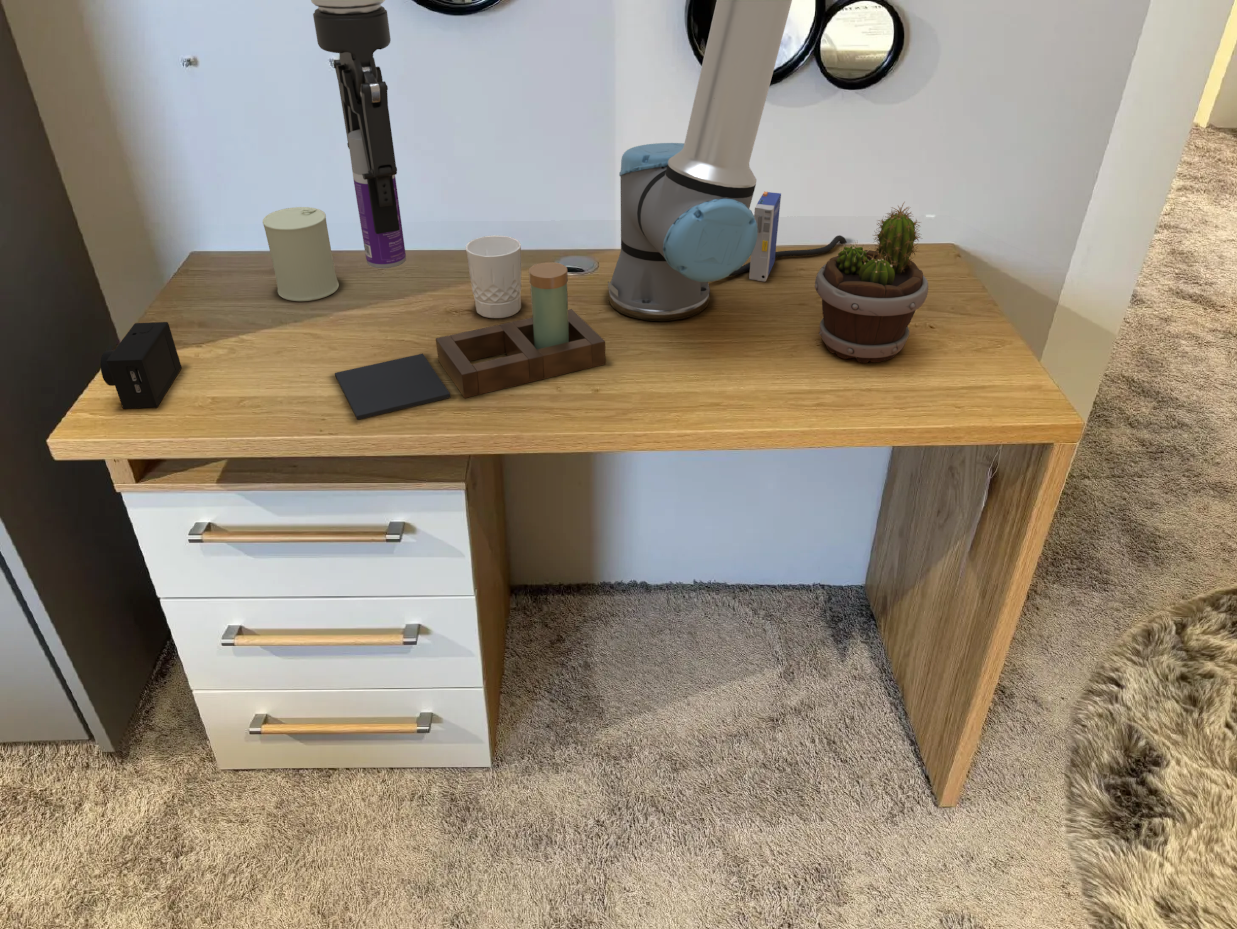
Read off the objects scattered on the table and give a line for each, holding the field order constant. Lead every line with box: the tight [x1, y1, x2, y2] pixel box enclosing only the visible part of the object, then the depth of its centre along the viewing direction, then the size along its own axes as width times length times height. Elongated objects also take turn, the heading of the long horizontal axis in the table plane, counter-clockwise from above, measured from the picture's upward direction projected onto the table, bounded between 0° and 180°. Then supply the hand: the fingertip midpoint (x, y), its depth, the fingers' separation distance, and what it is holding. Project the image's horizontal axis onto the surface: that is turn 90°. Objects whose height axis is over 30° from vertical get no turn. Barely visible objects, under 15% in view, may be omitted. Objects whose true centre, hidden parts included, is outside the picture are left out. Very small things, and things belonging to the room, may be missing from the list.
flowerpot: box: [814, 202, 929, 364], centre depth 127 cm, size 14×15×20 cm
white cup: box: [465, 234, 522, 319], centre depth 140 cm, size 8×8×10 cm
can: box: [262, 206, 340, 302], centre depth 146 cm, size 9×9×12 cm
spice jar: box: [528, 261, 569, 349], centre depth 128 cm, size 5×5×13 cm
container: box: [347, 129, 407, 269], centre depth 111 cm, size 5×5×15 cm
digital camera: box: [100, 321, 183, 410], centre depth 122 cm, size 10×5×7 cm, turn 4°
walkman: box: [748, 191, 782, 282], centre depth 151 cm, size 8×3×12 cm, turn 162°
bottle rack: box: [435, 308, 606, 399], centre depth 129 cm, size 20×11×4 cm, turn 116°
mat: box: [334, 353, 451, 420], centre depth 124 cm, size 12×12×1 cm
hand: (381, 222), depth 112 cm, fingers closed on container, 5 cm apart
